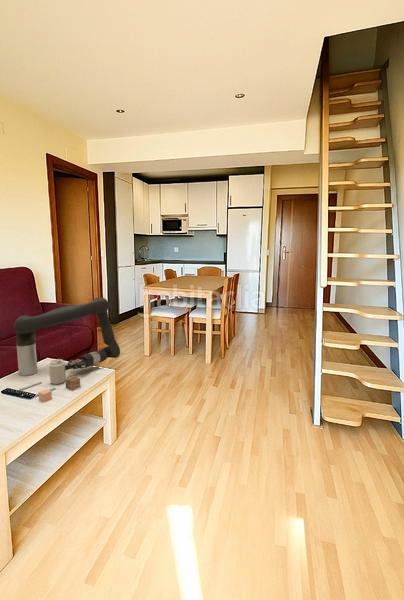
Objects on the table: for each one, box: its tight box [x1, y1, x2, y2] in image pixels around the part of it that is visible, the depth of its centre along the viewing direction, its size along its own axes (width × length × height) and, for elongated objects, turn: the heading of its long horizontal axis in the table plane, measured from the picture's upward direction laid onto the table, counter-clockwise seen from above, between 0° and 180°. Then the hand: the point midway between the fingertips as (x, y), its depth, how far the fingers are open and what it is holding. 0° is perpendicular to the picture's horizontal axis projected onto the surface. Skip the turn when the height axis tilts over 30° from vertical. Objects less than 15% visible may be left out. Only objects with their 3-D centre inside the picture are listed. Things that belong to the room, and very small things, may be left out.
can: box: [48, 358, 67, 385], centre depth 160 cm, size 8×8×12 cm
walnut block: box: [64, 375, 81, 391], centre depth 155 cm, size 5×5×5 cm
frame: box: [18, 381, 57, 399], centre depth 152 cm, size 14×12×1 cm
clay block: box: [37, 388, 53, 403], centre depth 142 cm, size 4×4×4 cm
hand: (63, 368), depth 163 cm, fingers closed
